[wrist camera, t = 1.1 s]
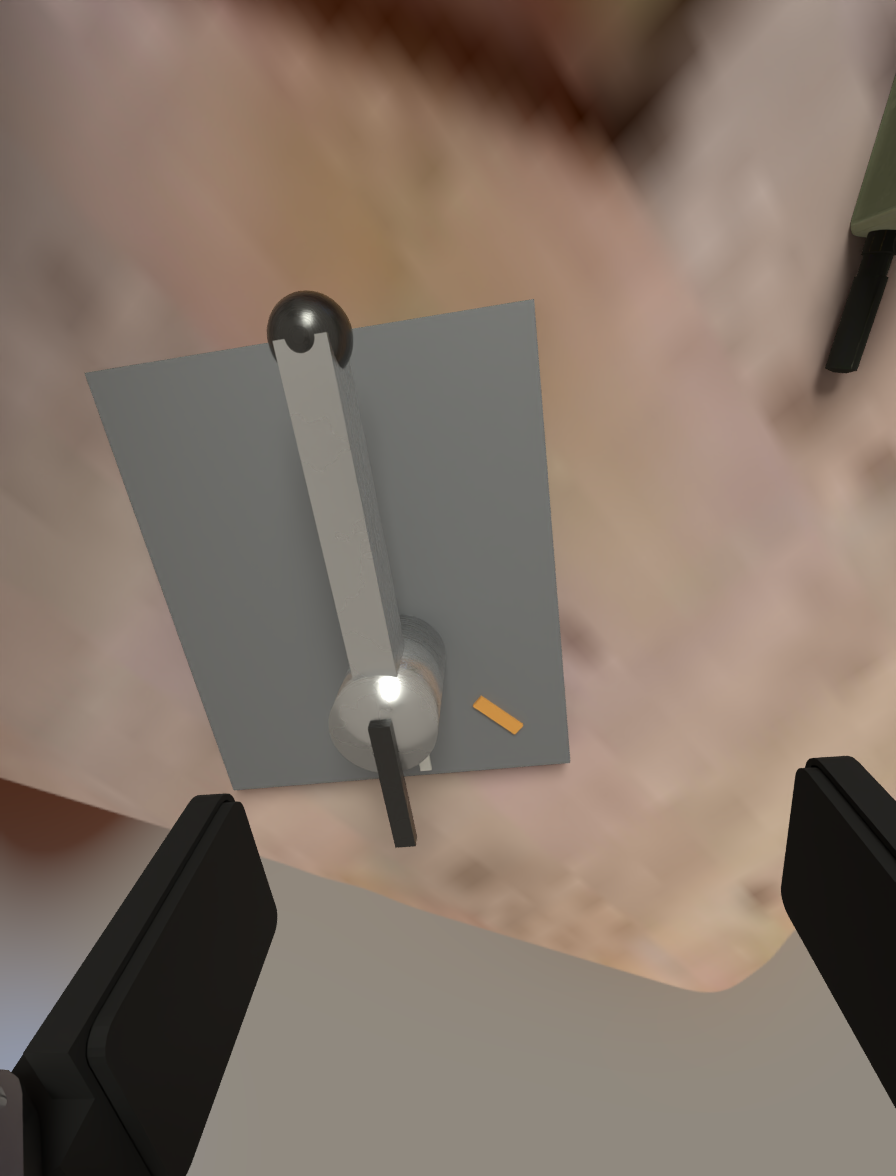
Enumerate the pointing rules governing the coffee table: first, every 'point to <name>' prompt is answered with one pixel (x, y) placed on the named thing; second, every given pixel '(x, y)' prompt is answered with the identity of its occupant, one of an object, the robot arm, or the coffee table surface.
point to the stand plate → (410, 526)
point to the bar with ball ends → (357, 559)
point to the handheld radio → (870, 246)
